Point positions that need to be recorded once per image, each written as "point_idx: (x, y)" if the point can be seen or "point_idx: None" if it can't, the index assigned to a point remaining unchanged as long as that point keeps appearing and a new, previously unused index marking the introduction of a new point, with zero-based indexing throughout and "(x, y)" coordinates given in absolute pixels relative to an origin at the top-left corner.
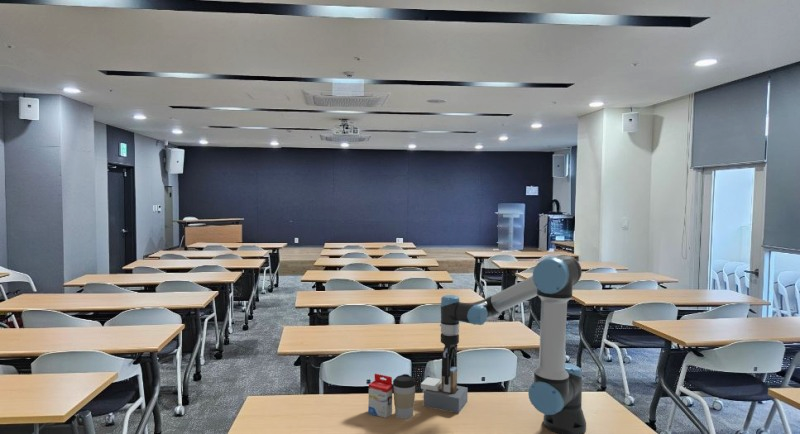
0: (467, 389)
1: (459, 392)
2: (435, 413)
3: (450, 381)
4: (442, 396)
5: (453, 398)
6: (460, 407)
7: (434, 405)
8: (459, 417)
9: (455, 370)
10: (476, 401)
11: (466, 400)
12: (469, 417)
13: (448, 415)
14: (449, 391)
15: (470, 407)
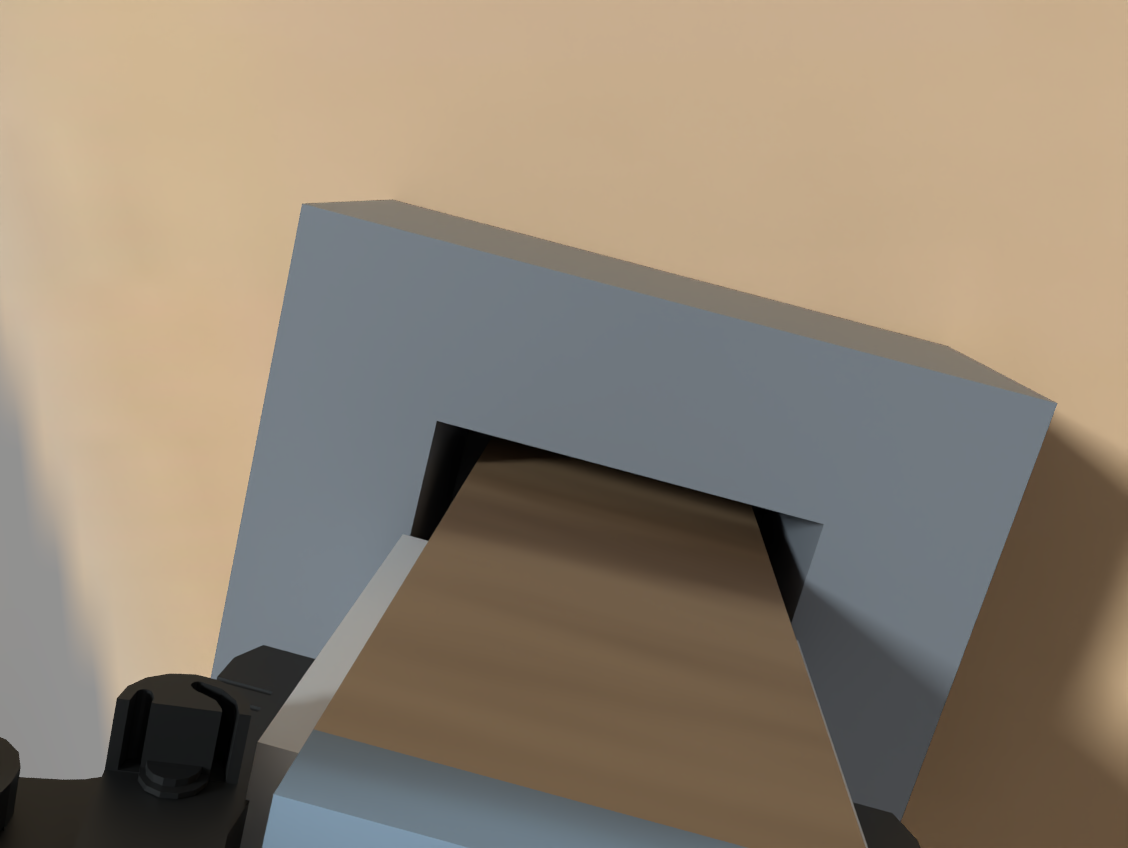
0: (325, 204)
1: (671, 402)
2: (995, 743)
3: None
4: (907, 774)
5: (996, 527)
6: (856, 327)
7: None
8: (1116, 323)
9: (542, 811)
10: (336, 12)
11: (451, 218)
12: (1098, 130)
13: (1051, 524)
14: None
15: (643, 127)
